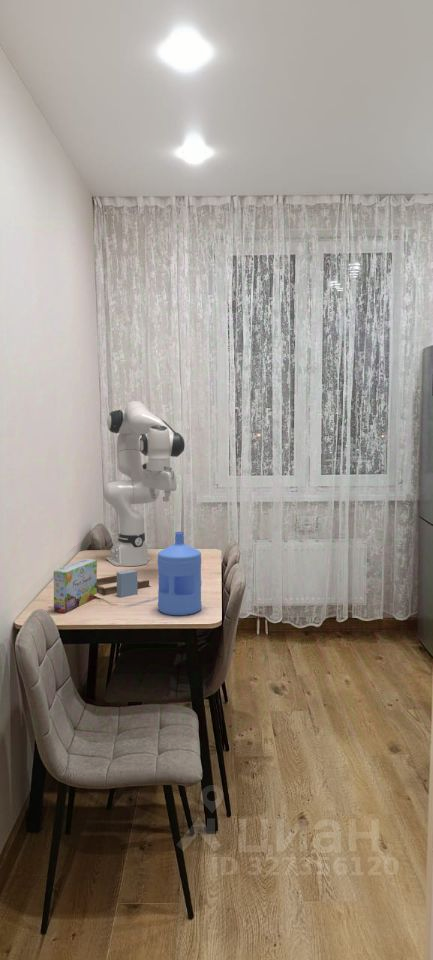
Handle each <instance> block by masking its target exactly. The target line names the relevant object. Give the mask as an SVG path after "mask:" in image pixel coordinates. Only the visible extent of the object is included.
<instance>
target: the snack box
mask: <svg viewBox="0 0 433 960" xmlns="http://www.w3.org/2000/svg"><path fill="white" fill-rule="evenodd" d="M97 563H98V560H97V559H91V558H84V559H81V560H79V561H76V562H74V563H71V564H68V565H65V566H63V567H60V568H58V569H55V570H53V612H57V613H62V614H67V613H69V612H70V611H72V610H74V609H76V608H79V607H80V606H82V605H84V604H86V603H89V602H91V601H93V600H94V599H97V597H98V596H97V594H98V593H97V579H98V578H97V577H98V571H97V570H98V569H97V567H98V566H97V565H98V564H97Z"/></svg>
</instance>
